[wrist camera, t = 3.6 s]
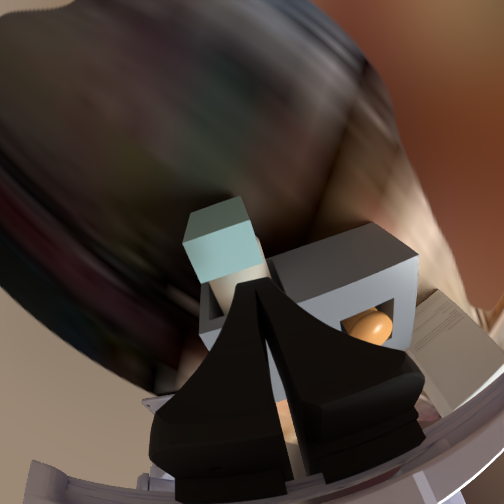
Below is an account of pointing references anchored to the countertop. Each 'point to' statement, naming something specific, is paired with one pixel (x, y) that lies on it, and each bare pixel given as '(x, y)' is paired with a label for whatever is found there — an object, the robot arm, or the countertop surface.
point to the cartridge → (224, 248)
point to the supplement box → (452, 353)
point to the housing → (338, 285)
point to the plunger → (369, 326)
